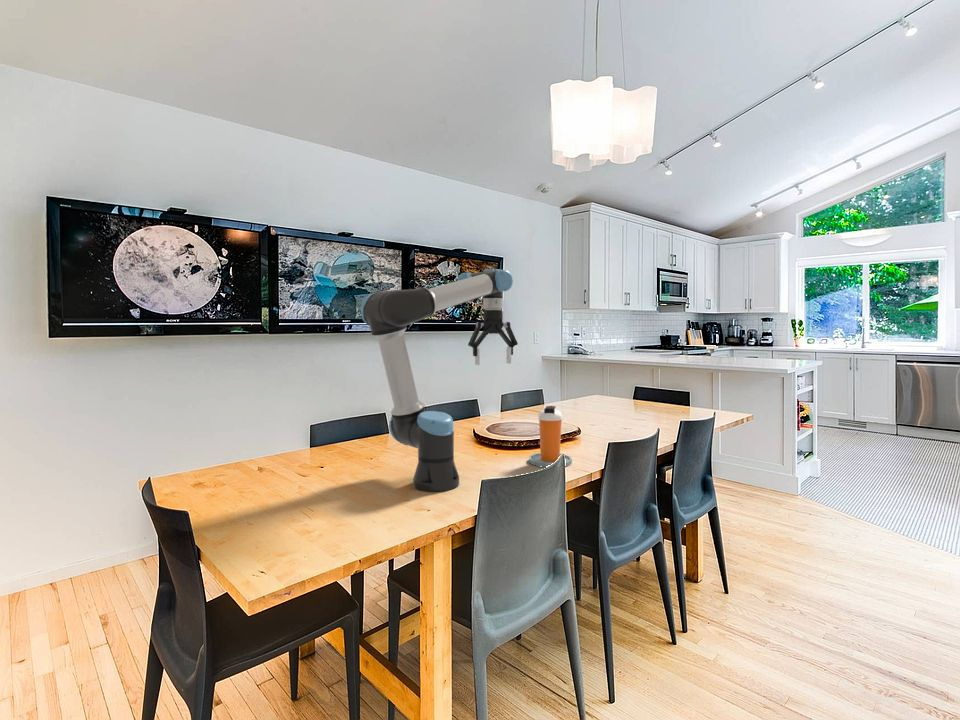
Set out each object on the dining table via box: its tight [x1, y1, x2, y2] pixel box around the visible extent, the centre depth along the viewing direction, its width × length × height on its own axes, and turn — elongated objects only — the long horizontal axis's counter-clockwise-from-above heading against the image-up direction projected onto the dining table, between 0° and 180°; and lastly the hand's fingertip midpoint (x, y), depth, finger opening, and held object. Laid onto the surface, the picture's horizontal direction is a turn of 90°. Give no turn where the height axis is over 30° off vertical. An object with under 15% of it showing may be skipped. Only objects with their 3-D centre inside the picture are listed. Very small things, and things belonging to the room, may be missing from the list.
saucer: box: [528, 452, 573, 468], centre depth 194 cm, size 16×16×2 cm
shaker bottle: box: [538, 405, 563, 462], centre depth 193 cm, size 9×9×20 cm
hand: (493, 364), depth 200 cm, fingers open, 13 cm apart
